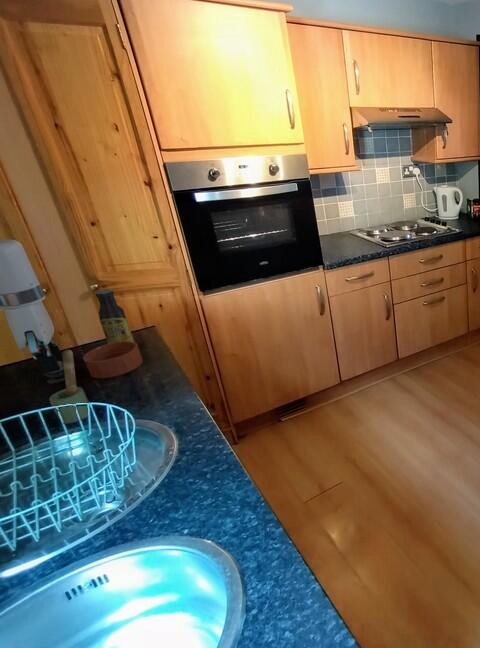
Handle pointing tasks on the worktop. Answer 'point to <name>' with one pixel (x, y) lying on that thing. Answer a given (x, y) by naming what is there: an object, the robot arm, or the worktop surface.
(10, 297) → the robot arm
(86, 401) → the holder
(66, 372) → the stick
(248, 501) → the worktop surface
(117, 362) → the bowl
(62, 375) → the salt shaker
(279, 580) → the worktop surface
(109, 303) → the sauce bottle
